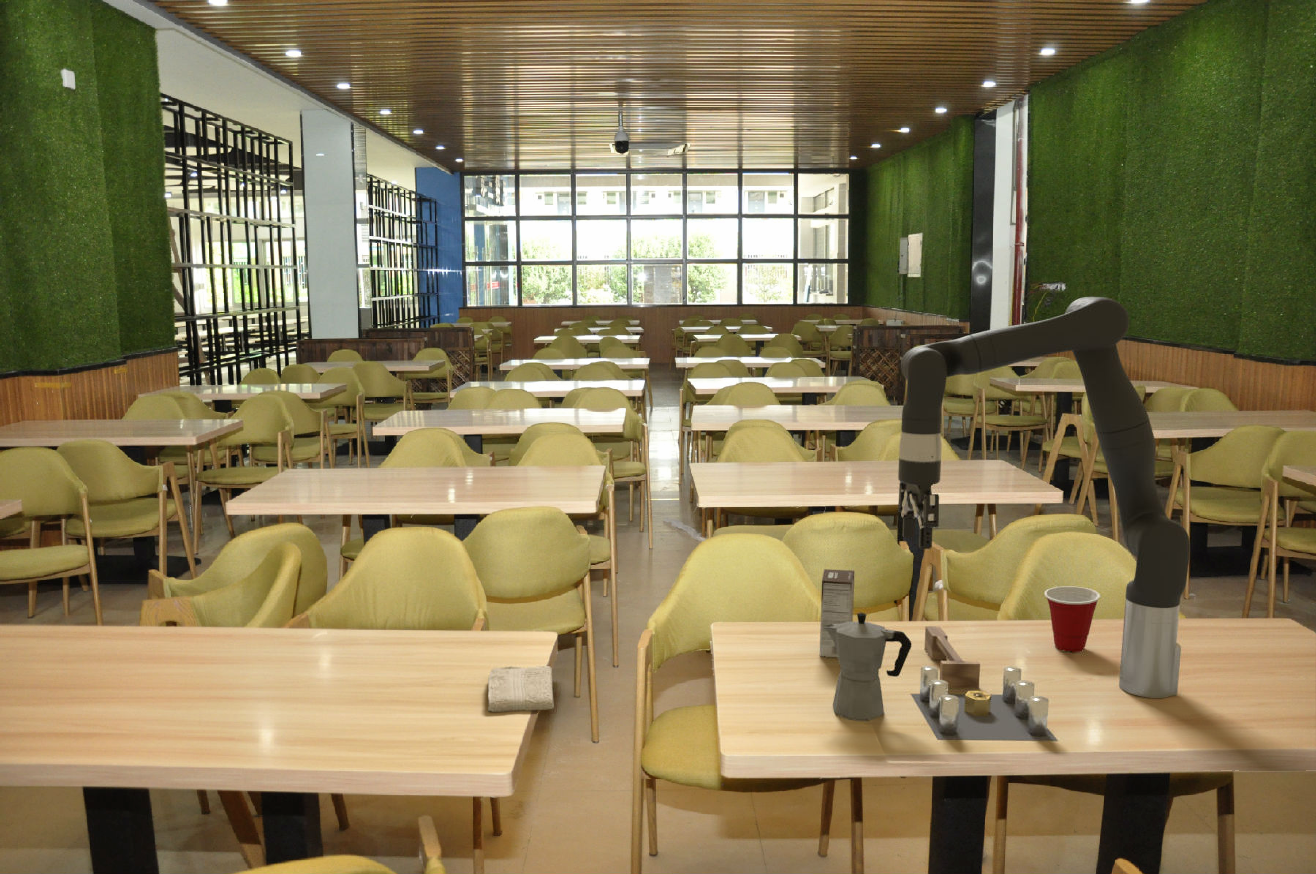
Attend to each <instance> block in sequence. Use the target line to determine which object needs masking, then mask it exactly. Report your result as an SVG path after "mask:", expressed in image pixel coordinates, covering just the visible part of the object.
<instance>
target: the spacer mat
mask: <svg viewBox="0 0 1316 874" xmlns="http://www.w3.org/2000/svg"><path fill="white" fill-rule="evenodd" d="M988 694H989V693H988ZM948 695H953V696H956V697H958V698H959V710H958V729H957V734H956V735H954V736H947V735H943V734H941V733H940V732H939V719H936V718H932V717H930V716H929V703H925V702H922V701H920V693H910V696H911V697H912V698H913V700H914V703H916V706H917V707H918V709H919V710H920V712H921V714H922V715H923V717H924V719H925V721H926V722H927V724H928V726H929V727H930V729H931V732H932V733H933V734H934V736H935V738H936V739H937V740H938V741H939V740H940V741H944V740H945V741H1014V742H1016V741H1021V742H1023V741H1025V742H1026V741H1027V742H1028V741H1029V742H1037V741H1038V742H1045V741H1046V742H1059V740H1058V739H1057V737H1055V735H1054V734H1053V733H1052V732H1051V730H1050V729H1049V728H1048V727H1047V733H1046V736H1043V737H1037V736H1033V735H1030V734H1029V733H1028V720H1023V719H1019V718H1016V717H1015V716H1014V714H1015V704H1008V703H1005V702H1003V701H1002V694H992V693H991V694H989V695H991V709H990V713H989V714H988V716H973V715H971V714H969V713H967V712H965V711H964V707H965V695H966V693H964V694H963V693H948Z"/></svg>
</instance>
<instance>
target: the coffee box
mask: <svg viewBox="0 0 1316 874" xmlns="http://www.w3.org/2000/svg"><path fill="white" fill-rule="evenodd" d="M855 574H856V573H855V570H849V569H831V568H830V569H829V568H828V569H824V570H823V574H822V579H821V595H820V598H821V604H820V629H819V630H820V634H819V656H820V657H824V656H825V657H828V658H838V650H837V647H836V645H835V644H834V642H833V640H832V638H831V636H830V634H829V633H828V631H827V630H825V629H824V628H825V627H826V626H827V625H831V624H842V623H845V622H854V602H855V601H854V597H855V596H854V595H855Z"/></svg>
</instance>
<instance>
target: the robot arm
mask: <svg viewBox="0 0 1316 874" xmlns="http://www.w3.org/2000/svg"><path fill="white" fill-rule="evenodd" d="M1129 328H1130V317H1129V313H1128V311H1127V309H1126V308H1125V307H1124V305H1122V304H1121V303H1120V302H1118V301H1117V300H1114V299H1112V298H1110V297H1105V296H1084V297H1080V298H1078V299H1075V300H1074V301H1072V302H1071V303H1070V304H1069V305H1068V306H1067V308H1066V310H1065V313H1064V314H1061V315H1058V316H1054V317H1051V318H1047V319H1044V320H1039V321H1034V322H1029V323H1028V322H1027V323H1022V324H1015V325H1010V326H1009V325H1008V326H1003V327H998V328H993V329H988V330H984V331H981V332H977V333H973V334H968V335H965V336H963V337H960V338H956V339H952V340H945V341H938V342H933V343H928V344H924V345H923V344H922V345H919V346H916V347H912V348H911V349H909V350H908V351H907V352H905V354H904V355H903V357H902V358H901V362H900V371H901V374H902V375H903V377H904V378H905V380H907V385H906V386H907V388H906V390H907V391H906V400H905V402H904V403H903V405H902V410H901V425H900V426H901V429H900V430H901V433H900V439H899V448H898V470H897V471H898V473H897V475H898V477H897V478H898V481H899V484H898V485H899V488H898V506H897V507H898V508H897V510H898V512H899V513H901V514H900V515H901V518H902V534H901V535H902V537H903V538H905V539H913V538H915V536H916V520H918V526H919V533H918V534H919V535H918V547H919V548H920V549H921V550H930V549H931V548H932V546H933V529H935V528H939V523H940V522H939V521H940V519H939V516H940V495H939V494H938V493H933V492H932V486H933V485H936V484H938V483H940V481H941V471H942V470H941V469H942V468H941V467H942V449H943V448H942V436H941V435H942V434H941V433H942V406H943V405H942V404H943V402H944V401H943V400H944V398H945V397H944V396H945V391H946V384H947V380H948V379H947V378H950V377H954V376H958V375H962V376H963V375H964V376H965V375H966V376H968V375H974V374H978V373H983V372H989V371H991V370H996V369H999V368H1002V367H1006V366H1009V365H1013V364H1017V363H1020V362H1024V361H1027V360H1032V359H1035V358H1039V357H1043V356H1049V355H1053V354H1054V355H1055V354H1060V353H1065V352H1072V353H1073V356H1074V358H1075V361H1076V363H1077V366H1078V368H1079V372H1080V374H1081V378H1082V381H1083V385H1084V389H1085V393H1086V397H1087V403H1088V405H1089V409H1090V413H1091V417H1092V420H1093V424H1094V429H1095V433H1096V436H1097V439H1098V442H1099V446H1100V450H1101V452H1102V455H1103V458H1104V461H1105V465H1106V468H1107V471H1108V475H1109V478H1110V481H1111V483H1112V487H1113V488H1114V492H1115V496H1116V500H1117V505H1118V512H1119V516H1120V524H1121V530H1122V536H1123V540H1124V544H1125V546H1126V548H1127V549H1128V551H1129V552H1130V553H1131V554H1132V555H1133V556H1134V557H1135V558H1136V563H1135V564H1136V565H1135V573H1134V578H1133V580H1131V581H1128V583H1127V584H1126V588H1125V602H1124V611H1123V612H1124V615H1123V625H1122V626H1123V629H1122V643H1121V651H1120V652H1121V653H1120V654H1121V655H1120V664H1119V665H1120V667H1119V668H1120V669H1119V674H1118V675H1119V681H1118V686H1119V687H1120V689H1121V690H1122V691H1124V692H1127V693H1129V694H1132V695H1134V696H1138V697H1142V698H1151V699H1163V698H1167V697H1171V696H1177V695H1178V689H1179V680H1180V679H1179V678H1180V667H1181V655H1182V653H1181V652H1182V646H1181V645H1180V644H1179V643H1178V642H1177V641H1178V628H1179V616H1180V604H1181V596H1182V595H1183V593H1184V591H1185V588H1186V587H1187V586H1186V585H1187V582H1188V581H1187V580H1188V571H1189V563H1190V557H1191V556H1190V555H1191V540H1190V537H1189V534H1188V531H1187V530H1186V529H1185V528H1184V527H1183V525H1181V524H1180V523H1178V522H1177V521H1175V520H1172V519H1171V518H1169V517H1168V516H1167V514H1166V511H1165V508H1164V506H1163V504H1162V502H1161V498H1160V496H1159V492H1158V489H1157V485H1156V478H1155V477H1156V476H1155V475H1156V459H1157V447H1156V440H1155V435H1154V431H1153V427H1152V424H1151V421H1150V417H1149V414H1148V411H1147V409H1146V406H1145V404H1144V403H1143V400H1142V398H1141V397H1140V395H1139V393H1138V391H1137V390H1136V387H1135V386H1134V385H1133V383H1132V381H1131V380H1130V378H1129V376H1128V375H1127V373H1126V371H1125V369H1124V367H1123V364H1122V362H1121V358H1120V355H1119V350H1118V346H1117V344H1118V343H1120V341H1122V339H1123V338H1124V337H1125V336H1126V335H1127V332H1128V330H1129Z"/></svg>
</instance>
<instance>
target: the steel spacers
mask: <svg viewBox="0 0 1316 874" xmlns="http://www.w3.org/2000/svg"><path fill="white" fill-rule="evenodd" d="M1002 680H1003V681H1002V683H1003V684H1002V693H1001V695H1002V701H1003V702H1005V703H1008V704H1015V714H1014V716H1015V717H1016V718H1019V719H1023V720H1028V733H1029V734H1030V735H1033V736H1037V737H1043V736H1046V733H1047V728H1048V719H1049V718H1048V716H1049V714H1048V713H1049V698H1048V697H1046V696H1041V695H1035V683H1034V682H1032V681H1029V680H1022V669H1021V668H1019V667H1018V666H1013V665H1012V666H1011V665H1008V666H1005V667H1003V679H1002ZM919 684H920V685H919V694H920V701H922V702H925V703H929V716H930V717H932V718H936V719H939V732H940V733H941V734H943V735H947V736H954V735H956V734H957V729H958V710H959V698H958V697H956V696H953V695H948V694H949V688H948V682H946V681H944V680H940V679H939V668H938V667H936V666H934V665H926V664H925V665H922V666H921V667H920V682H919Z"/></svg>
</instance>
